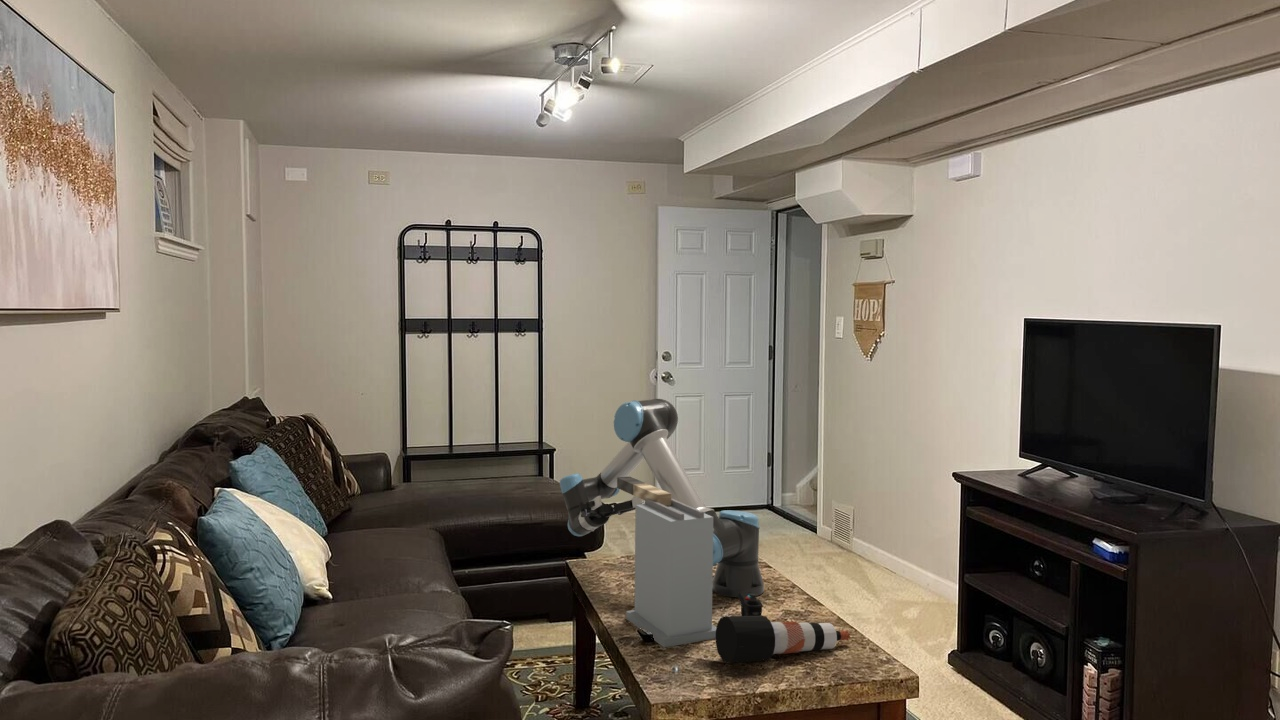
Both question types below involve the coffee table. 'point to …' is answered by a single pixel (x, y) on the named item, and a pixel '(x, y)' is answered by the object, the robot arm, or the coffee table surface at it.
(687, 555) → the post
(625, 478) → the bar
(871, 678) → the coffee table surface
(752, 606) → the controller
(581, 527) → the robot arm
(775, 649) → the black white tapered cylinder
